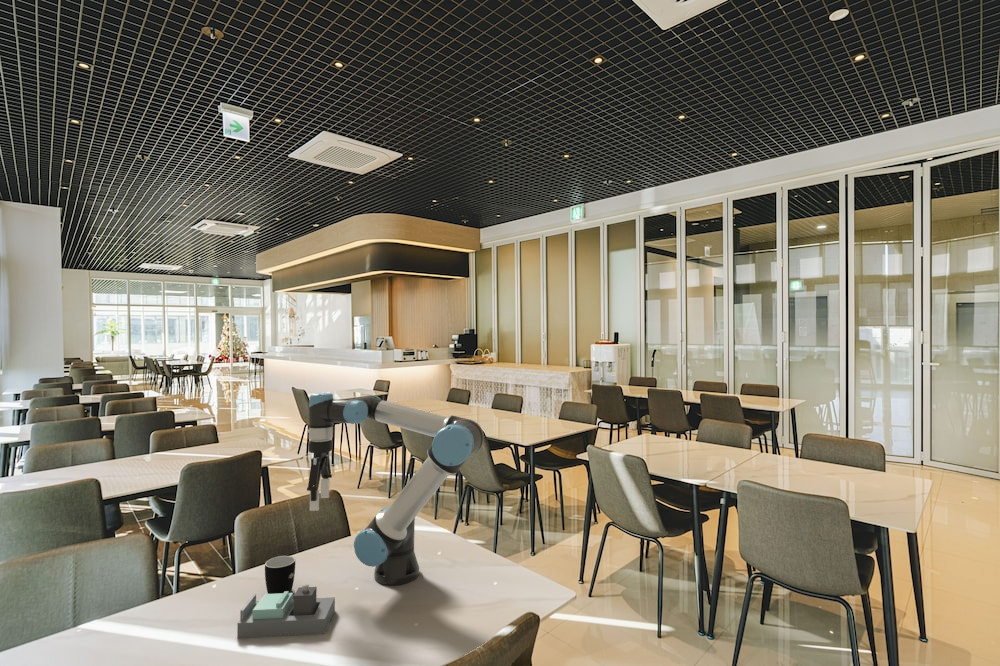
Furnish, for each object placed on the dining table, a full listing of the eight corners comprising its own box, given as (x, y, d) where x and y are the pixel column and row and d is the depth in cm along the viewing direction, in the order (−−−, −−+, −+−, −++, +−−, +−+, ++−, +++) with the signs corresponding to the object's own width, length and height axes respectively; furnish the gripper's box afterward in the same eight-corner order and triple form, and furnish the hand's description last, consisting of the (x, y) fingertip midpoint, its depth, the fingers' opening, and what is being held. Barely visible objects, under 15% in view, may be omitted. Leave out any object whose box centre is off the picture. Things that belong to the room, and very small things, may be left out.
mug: (290, 599, 156) (291, 566, 157) (260, 601, 155) (261, 568, 155) (300, 581, 168) (300, 551, 169) (271, 583, 167) (272, 552, 167)
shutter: (292, 601, 147) (293, 589, 147) (282, 617, 138) (282, 605, 138) (264, 602, 146) (264, 590, 147) (252, 619, 137) (252, 606, 138)
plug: (316, 618, 146) (316, 581, 146) (311, 627, 141) (311, 589, 141) (298, 618, 145) (298, 581, 146) (292, 628, 140) (293, 590, 141)
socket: (334, 610, 150) (335, 588, 150) (324, 633, 138) (325, 609, 138) (254, 614, 147) (254, 591, 148) (237, 638, 136) (237, 613, 136)
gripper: (318, 433, 179) (318, 493, 179) (297, 447, 154) (296, 516, 154) (340, 433, 180) (339, 492, 179) (322, 446, 155) (321, 516, 154)
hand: (319, 503), depth 166 cm, fingers open, 13 cm apart
